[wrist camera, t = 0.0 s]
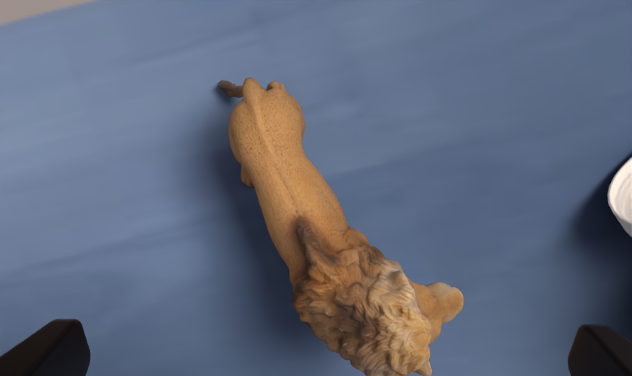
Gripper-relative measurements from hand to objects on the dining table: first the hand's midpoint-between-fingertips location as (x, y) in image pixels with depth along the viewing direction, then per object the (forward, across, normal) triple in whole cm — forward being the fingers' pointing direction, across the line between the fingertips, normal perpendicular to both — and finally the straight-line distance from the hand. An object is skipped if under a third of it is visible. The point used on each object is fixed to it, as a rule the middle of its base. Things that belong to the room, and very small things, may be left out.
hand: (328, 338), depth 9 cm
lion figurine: (+14, 0, +6) cm, 15 cm away
